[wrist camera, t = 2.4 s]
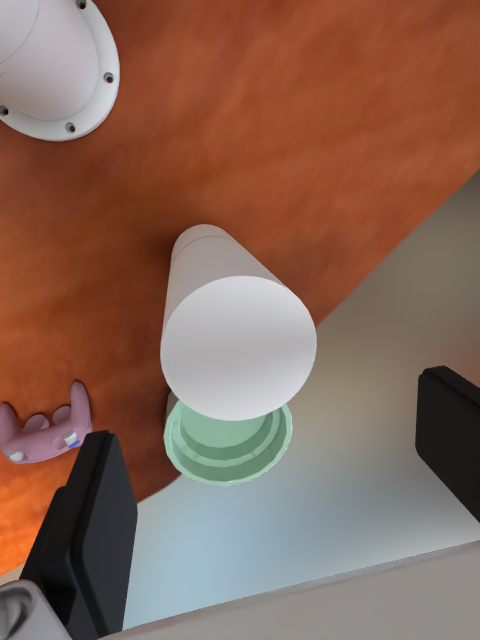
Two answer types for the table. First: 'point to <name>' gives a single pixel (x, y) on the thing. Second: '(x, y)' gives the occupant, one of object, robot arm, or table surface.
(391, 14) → the table surface
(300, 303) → the cylindrical container
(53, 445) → the video game controller
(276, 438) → the bowl
